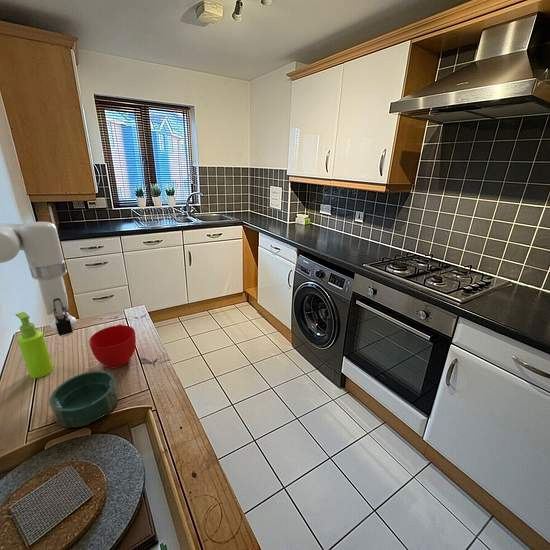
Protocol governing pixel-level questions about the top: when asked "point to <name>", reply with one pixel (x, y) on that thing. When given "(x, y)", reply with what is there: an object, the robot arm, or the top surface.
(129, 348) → the red bowl
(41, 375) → the soap dispenser
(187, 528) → the top surface
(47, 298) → the robot arm
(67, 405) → the dark green pet bowl
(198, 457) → the top surface
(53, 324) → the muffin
